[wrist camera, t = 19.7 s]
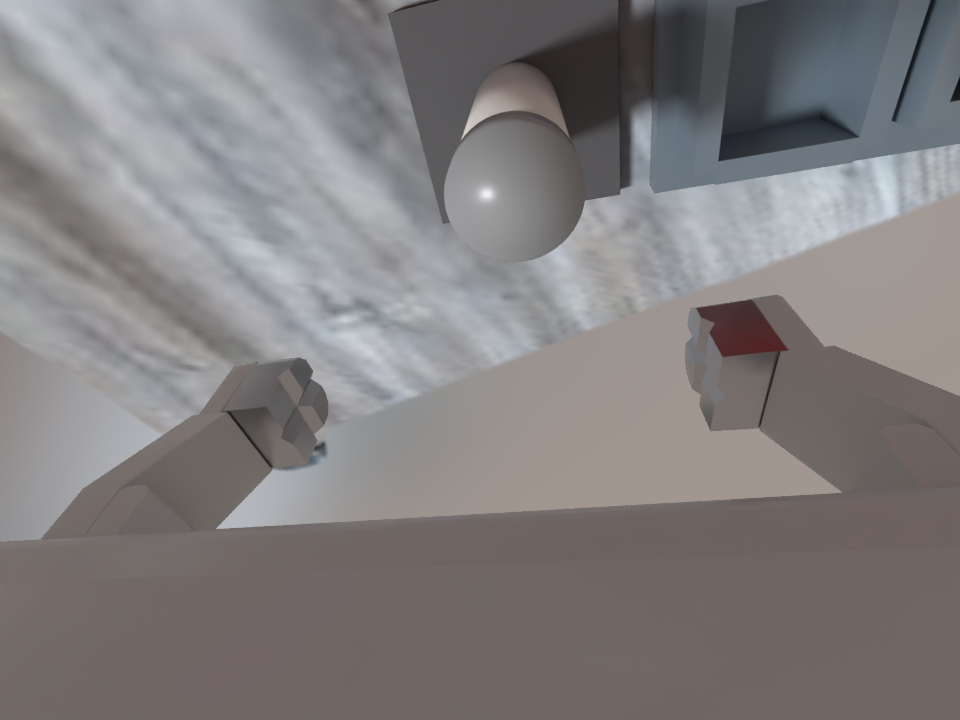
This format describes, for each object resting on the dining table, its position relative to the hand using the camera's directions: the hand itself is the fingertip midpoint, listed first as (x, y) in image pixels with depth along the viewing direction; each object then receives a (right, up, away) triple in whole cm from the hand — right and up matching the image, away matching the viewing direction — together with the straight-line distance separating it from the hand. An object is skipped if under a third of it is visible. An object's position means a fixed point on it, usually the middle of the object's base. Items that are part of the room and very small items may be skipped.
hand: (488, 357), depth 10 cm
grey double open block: (+19, +17, +15) cm, 29 cm away
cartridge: (+2, +15, +18) cm, 23 cm away
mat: (+2, +15, +18) cm, 24 cm away
